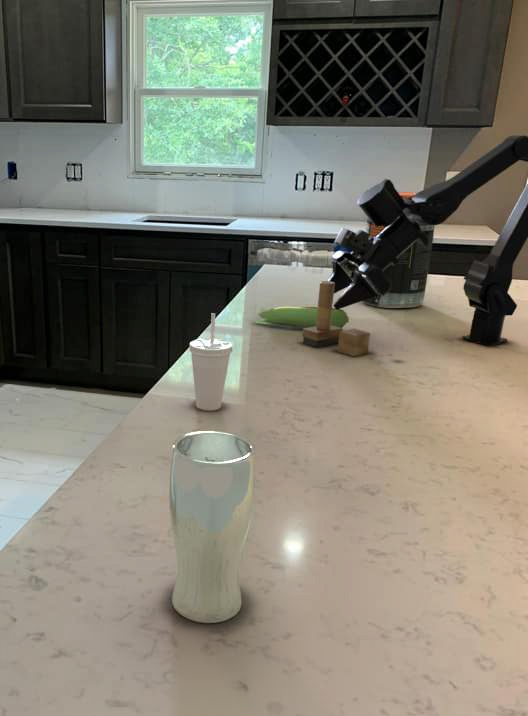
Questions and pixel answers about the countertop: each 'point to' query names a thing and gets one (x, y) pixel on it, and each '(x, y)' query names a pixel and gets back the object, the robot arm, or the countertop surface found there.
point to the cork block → (353, 342)
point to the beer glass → (210, 521)
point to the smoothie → (210, 369)
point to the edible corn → (300, 317)
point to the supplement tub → (405, 269)
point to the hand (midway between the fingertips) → (327, 302)
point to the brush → (323, 320)
